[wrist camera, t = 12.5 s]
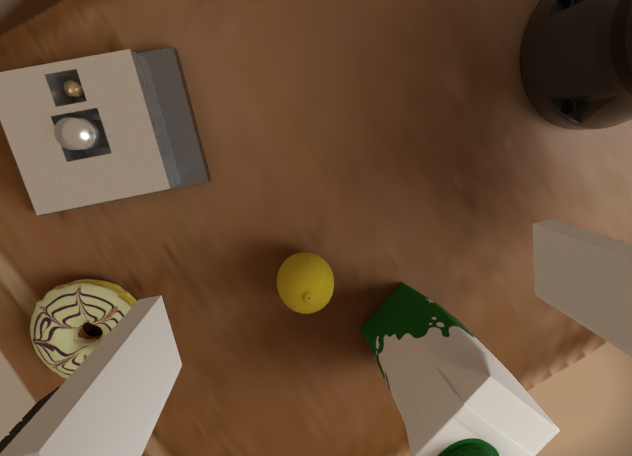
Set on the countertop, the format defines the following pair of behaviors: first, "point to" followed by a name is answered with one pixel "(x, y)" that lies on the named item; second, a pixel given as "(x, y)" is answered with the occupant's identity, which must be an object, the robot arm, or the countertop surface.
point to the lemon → (305, 282)
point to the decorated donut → (75, 321)
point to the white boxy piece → (102, 98)
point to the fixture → (175, 117)
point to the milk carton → (451, 384)
